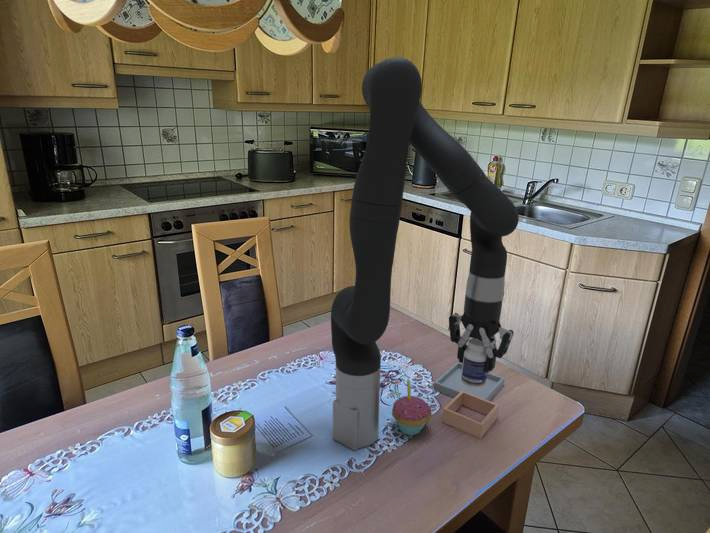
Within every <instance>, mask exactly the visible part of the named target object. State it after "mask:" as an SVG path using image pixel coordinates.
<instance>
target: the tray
mask: <svg viewBox="0 0 710 533" xmlns="http://www.w3.org/2000/svg"><path fill="white" fill-rule="evenodd" d="M462 365H463V363H460V362H459V361H457V362H456V363H454V364H453V365H452V366H451V367H450V368H448V369H447V370H446V371H445V372H444V373H443V374H442V375H440V377H438V378H437V379H436V380H435V381H434V382H433V390H434V391H437V392H439V393H441V394H444V395H447V396H449V397H451V398H452V399H454V398H455V397H456V396H457V395H458V394H459V393H460V392H461V391H465V392H467V393H470V394H472V395H475V396H478V397H480V398H483V399H485V400H488V401H490V402H491V401H492V399H493V398H494V397H495V396H496V395H497V393H498V392H499V391H500V390H501V389H502V388H503V387H504V384H505V377H502V376H500V375H497V374H495V373H492V372H489V373H487V379H486V384H485V385H484V386H483V387H480V388H472V387H468V386H466V385H465V384H463V382H462V381H461V374H462Z"/></svg>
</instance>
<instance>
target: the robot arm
mask: <svg viewBox="0 0 710 533" xmlns="http://www.w3.org/2000/svg"><path fill="white" fill-rule="evenodd" d="M416 66H417V65H415V63H413V62H412V61H411V60H409V59H407V58H405V57H401V56H396V57H394V56H393V57H389V58H386V59H384V60H382V61H380V62H378V63H376V64H374V65H373V66H372V67H370V68H369V69H368V70H367V72H366V73H365V75H364V77H363V80H362V82H361V95H362V98H363V100H364V102H365V105H366V106H367V107H368V109H369V122H368V123H369V124H368V134H367V142H366V147H365V150H364V153H363V157H362V160H361V163H360V165H359V168H358V170H357V175H356V176H355V177H356V178H355V181H354V184H353V189H352V194H351V201H350V203H351V204H350V209H349V210H350V211H349V220H348V222H349V235H350V241H351V246H352V253H353V258H354V264H355V283H354V285H350V286H347V287H345V288H343V289H341V290H340V291H339V292H338V293H337V294H336V296H335V297H334V299H333V301H332V304H331V310H330V330H331V346H332V350H333V351H332V352H333V355H334V357H335V358H334V359H335V399H334V400H332V439H333V440H335V441H336V442H339V443H340V444H342V445H343V446H345V447H347V448H349V449H351V450H353V451H357V450H358V449H362V448H366V447H369V446H371V445H373V444H374V443H375V442H376V441H377V440H378V438H379V430H380V429H379V428H380V426H379V424H380V422H379V421H380V396H381V394H380V391H381V368H382V367H381V366H382V365H381V364H382V363H381V362H382V361H381V360H382V359H381V358H382V356H381V355H382V354H381V351H380V349H379V347H378V345H377V341H379V340H380V339H381V337H382V336H383V335H384V333H385V332H386V329H387V327H388V325H389V321H390V314H391V292H392V289H391V288H392V277H393V276H392V275H393V266H394V261H395V260H394V259H395V251H396V244H397V239H398V238H397V237H398V230H399V228H400V227H399V226H400V220H401V213H402V207H403V199H404V190H405V182H406V174H407V165H408V153H409V147H410V145H411V147H412V148H413V149H414V151H416V152H417V154H418V155H419V156H420V157H421V158H422V160H423V161H424V162H425V163H426V164H427V165H428V167H429V168H430V170H432V172H433V173H434V174H435V175H436V177H437V178H438V179H439V181H440V182H442V184H443V185H444V187H446V189H447V190H448V191H449V193H450V194H451V195H452V196H453V197H454V198H455V199H457V200H458V202H460V203H462V204H463V205H464V206H466V208H467V209H468V210H469V211H470V215H469V216H470V217H469V231H470V232H469V233H470V243H471V244H470V245H471V255H470V263H469V271H468V272H469V273H468V275H467V280H466V286H465V296H464V303H463V304H464V306H463V314H462V315H461V314H459V313H457V312H455V313H453V314H452V315H449V317H448V325H449V336H450V337H449V338H450V341H451V342H452V343H455V344H456V345H457V354H456V355H457V356H456V358H457V360H458V362H460V363H463V356H464V351H465V349H466V348H468V342H469V340H470V339H472V338H476V339H478V340H480V341H483V344H484V347H485V348H486V351H487V354H488V356H487V358H486V365H485V372H487V373H491V372H492V371H493V370H494V369H495V367H496V361H497V358H498V359H501V358H503V357H504V356H505V355H506V354H507V352H508V350H509V347H510V344H511V341H512V339H513V337H514V334H515V332H514V330H513V329H509V330H508V329H506V328H503V327H502V324H501V322H500V321H501V315H502V314H501V313H502V308H503V307H502V306H503V300H504V299H503V298H504V297H505V282H506V281H505V279H506V278H505V277H506V268H507V262H508V251H507V248H506V247H505V245H504V244H503V240H502V239H503V238H502V237H507V236H509V235H510V234H512V233H513V232H514V231H515V230H516V229H517V227H518V224H519V219H520V218H519V217H520V216H519V212H518V209H517V207H516V206H515V204H514V203H513V201H512V200H511V199H510V198H509V197H508V196H507V194H505V193H504V192H503V191H502V190H501V189H500V188H499V187H498V186H497V185H496V184H495V183H493V181H491V180H490V179H489V177H488V176H487V175H486V173H485V172H484V170H483V169H482V168H481V167H480V165H479V164H478V163H477V161H475V159H474V157H473V156H472V155H471V154H470V153H469V151H468V150H466V148H465V147H464V146H463V145H462V144H461V143H459V141H457V139H455V138H454V137H453V136H452V135H451V134H449V133H448V132H447V131H446V130H445V129H444V128H443V127H442V126H441V125H440V124H439V123H438V122H437V121H436V120H435V119H434V118H433V116H431V114H430V113H429V112H428V111H427V110H426V108H425V107H424V106H423V104H422V103H421V97H422V93H423V91H422V90H423V84H422V83H423V82H422V81H423V80H422V77H421V74H420V72H419V69H418V67H416ZM461 324H462V325H463V327H464V332H463V333H462V335H461V326H460V325H461ZM496 334H499V340H501V341H500V344H499V346H498V347H497V338H496Z"/></svg>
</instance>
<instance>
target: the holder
mask: <svg viewBox="0 0 710 533" xmlns="http://www.w3.org/2000/svg"><path fill="white" fill-rule="evenodd" d="M462 406H463V407H465V408H467V409H471V410H473V411H476V412H478V413H481V414H482V415H485V417H484V418H483V419H482V421H481V422H480V421H478V420H476V419H473V418H471V417H468V416H466V415H464V414H461V413H460V412H457V411H458V410H459V409H460V408H461V407H462ZM499 409H500V405H499V404H498V403H496V402H493V401H491V400H490V401H488V400H485V399H483V398H480V397H478V396H475V395H472V394H470V393H467V392H465V391H461V392H460V393H459V394H458V395H457V396H456V397H455V398H452V399H451V400H450V402H448V404H447V405H445V406H444V407H443V411H442V423H444V424H447V425H449V426H450V427H454V428H456V430H457V429H458V430H460V431H462V432H464V433H465V434H466V433H467V434H468V435H471V436H473V437H475V438H478V439H480V440H481V439H482V438H483V437H484V436H485V434H486V433H487V432H488V430H489V429H490V428H491V427H492V425H493V424H494V423H495V422H496V421H497V419H498V416H499Z"/></svg>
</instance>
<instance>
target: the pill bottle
mask: <svg viewBox="0 0 710 533" xmlns="http://www.w3.org/2000/svg"><path fill="white" fill-rule="evenodd" d="M467 345H468V348H466V349H465V351H464V356H463V365H462V374H461V381H462V382H463V384H465V385H466V386H468V387H472V388H480V387H483V386H484V385H485V384H486V379H487V372H485V365H486V358H487V356H488V354H487V350H486V348H485V347H484V344H483V341H480V340H478V339H476V338H470V339H469V341H468V342H467Z"/></svg>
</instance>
